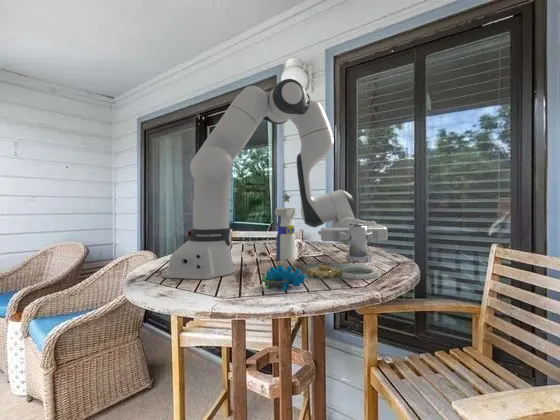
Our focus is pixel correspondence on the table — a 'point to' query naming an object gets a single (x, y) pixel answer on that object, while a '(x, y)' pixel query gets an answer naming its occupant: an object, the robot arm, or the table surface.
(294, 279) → the gear
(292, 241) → the white piece
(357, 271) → the gear board
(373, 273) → the seat ring
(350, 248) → the grey cylindrical peg
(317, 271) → the brass gear
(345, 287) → the table surface
